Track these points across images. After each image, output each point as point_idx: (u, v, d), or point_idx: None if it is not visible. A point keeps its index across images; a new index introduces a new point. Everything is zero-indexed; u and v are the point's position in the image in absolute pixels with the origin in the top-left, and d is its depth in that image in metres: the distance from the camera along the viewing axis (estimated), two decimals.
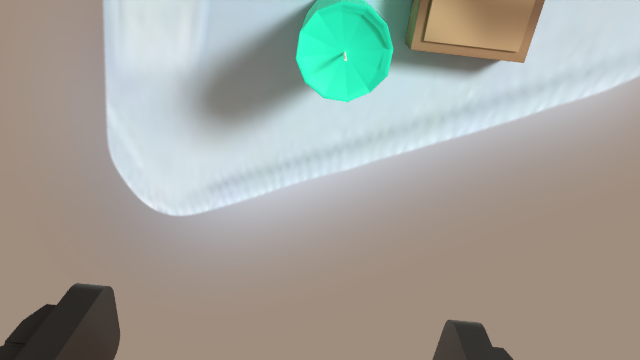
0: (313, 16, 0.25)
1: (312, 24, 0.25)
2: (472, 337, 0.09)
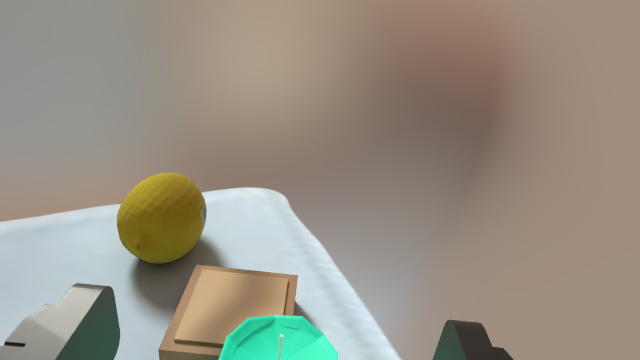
0: None
1: None
2: (472, 337, 0.09)
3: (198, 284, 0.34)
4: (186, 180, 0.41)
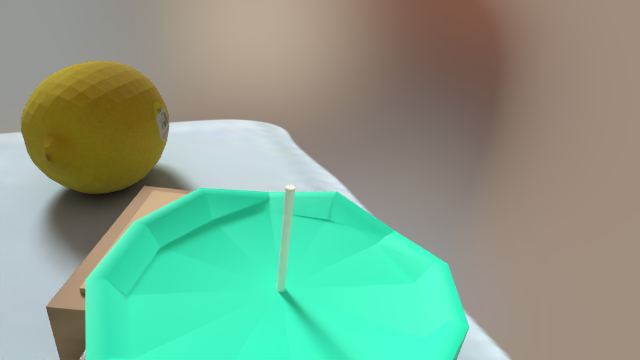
0: None
1: None
2: None
3: (142, 209, 0.20)
4: (136, 71, 0.27)
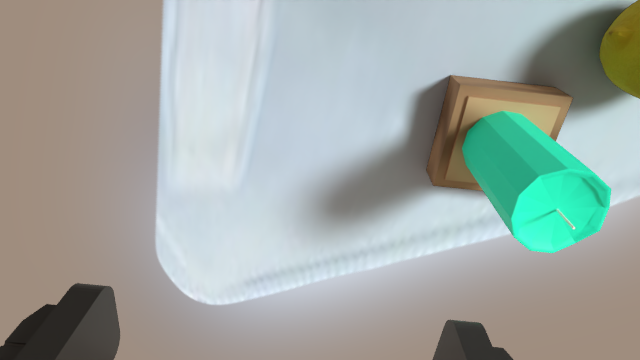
0: (535, 181, 0.25)
1: (532, 187, 0.25)
2: (472, 337, 0.09)
3: (537, 106, 0.33)
4: None
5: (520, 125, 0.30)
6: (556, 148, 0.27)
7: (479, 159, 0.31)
